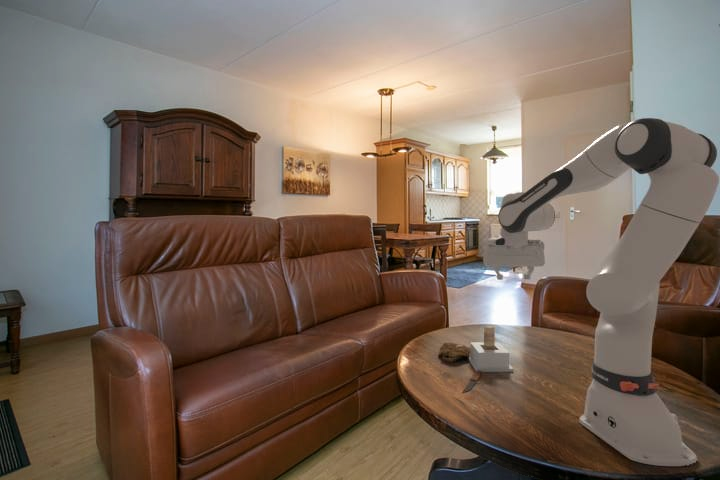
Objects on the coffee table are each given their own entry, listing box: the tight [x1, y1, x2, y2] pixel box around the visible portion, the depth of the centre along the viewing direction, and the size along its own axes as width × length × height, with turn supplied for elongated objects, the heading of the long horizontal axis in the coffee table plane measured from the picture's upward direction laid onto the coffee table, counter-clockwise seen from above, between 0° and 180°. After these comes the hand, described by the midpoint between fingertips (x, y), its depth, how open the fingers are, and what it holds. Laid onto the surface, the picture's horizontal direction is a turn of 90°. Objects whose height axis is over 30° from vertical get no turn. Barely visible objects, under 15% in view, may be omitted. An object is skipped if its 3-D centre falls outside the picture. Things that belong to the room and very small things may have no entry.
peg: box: [483, 325, 496, 350], centre depth 125 cm, size 3×3×12 cm
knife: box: [462, 371, 484, 393], centre depth 112 cm, size 17×1×3 cm
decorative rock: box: [438, 342, 470, 363], centre depth 133 cm, size 11×4×15 cm
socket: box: [466, 341, 514, 373], centre depth 125 cm, size 12×12×6 cm
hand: (513, 279), depth 127 cm, fingers open, 8 cm apart
